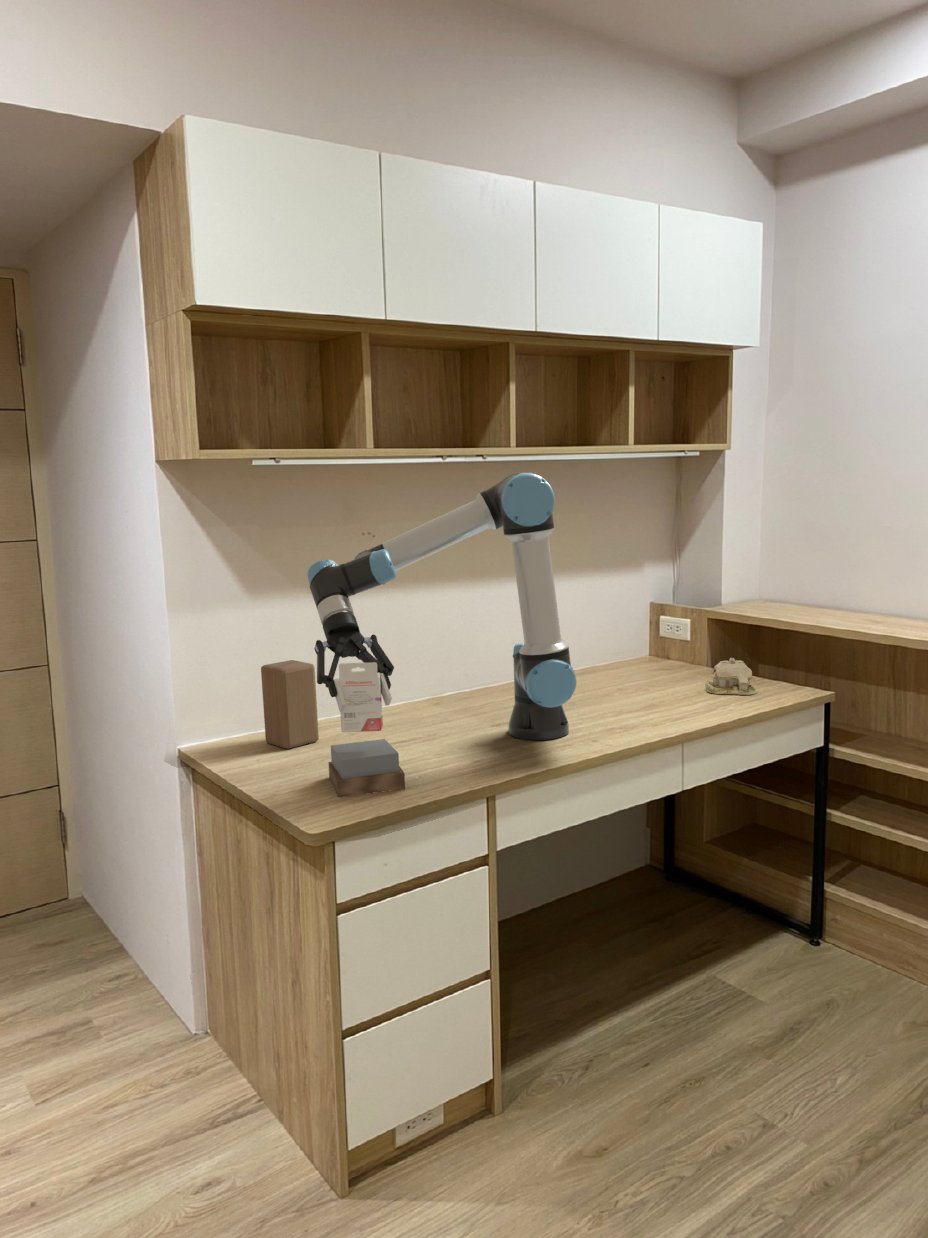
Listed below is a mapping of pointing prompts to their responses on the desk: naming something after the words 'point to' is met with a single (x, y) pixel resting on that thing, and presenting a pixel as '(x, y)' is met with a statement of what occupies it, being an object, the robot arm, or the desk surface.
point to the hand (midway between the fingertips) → (366, 705)
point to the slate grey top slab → (364, 758)
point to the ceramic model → (731, 679)
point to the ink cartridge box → (361, 697)
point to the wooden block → (289, 703)
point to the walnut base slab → (366, 782)
